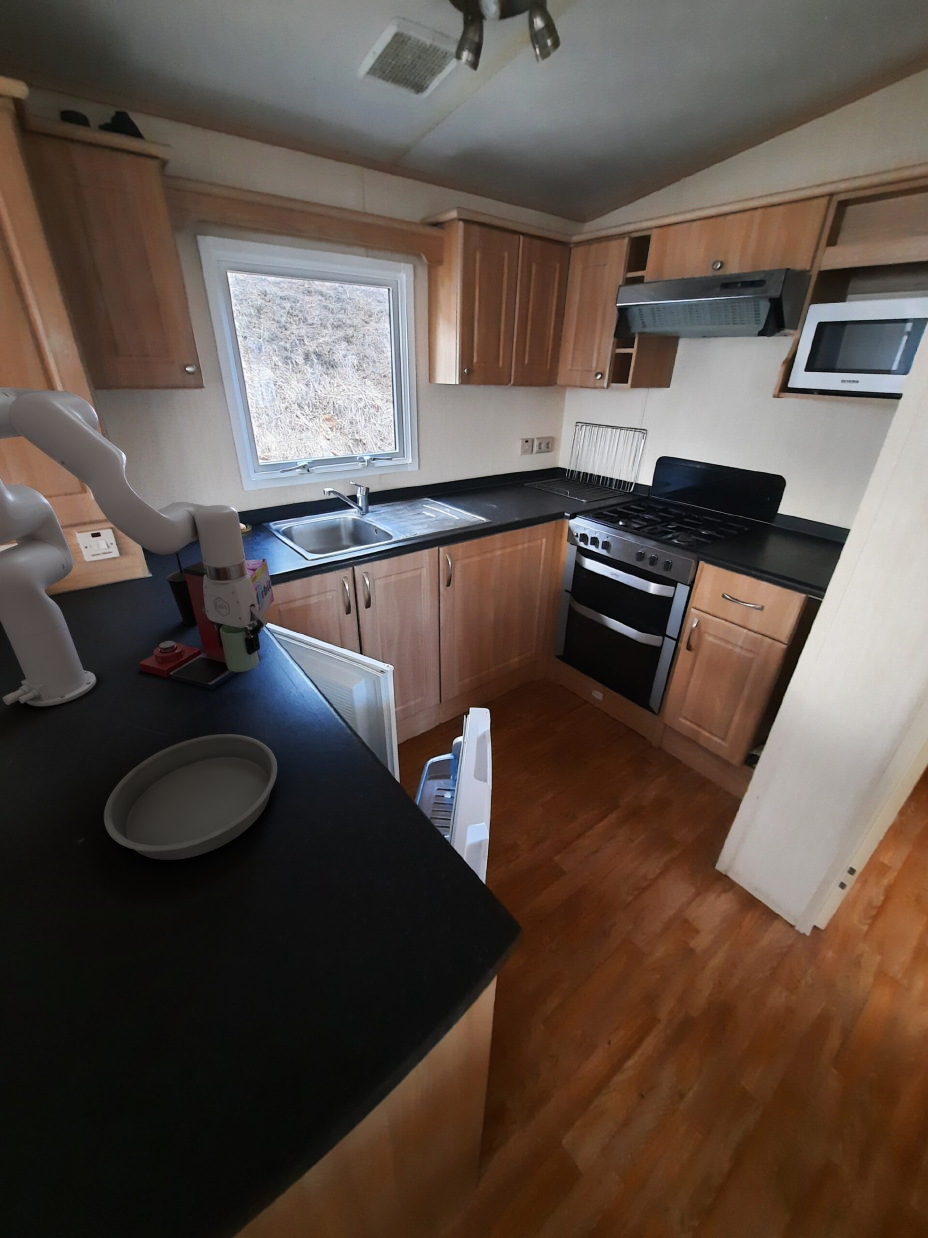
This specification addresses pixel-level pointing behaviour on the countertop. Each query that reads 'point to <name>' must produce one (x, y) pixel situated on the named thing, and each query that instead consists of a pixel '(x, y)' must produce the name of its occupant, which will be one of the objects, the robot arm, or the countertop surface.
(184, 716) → the countertop surface
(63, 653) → the robot arm
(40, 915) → the countertop surface
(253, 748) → the cake pan
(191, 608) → the drinking cup
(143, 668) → the button block
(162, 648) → the button
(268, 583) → the gum box
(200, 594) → the coffee maker
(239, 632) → the cup
